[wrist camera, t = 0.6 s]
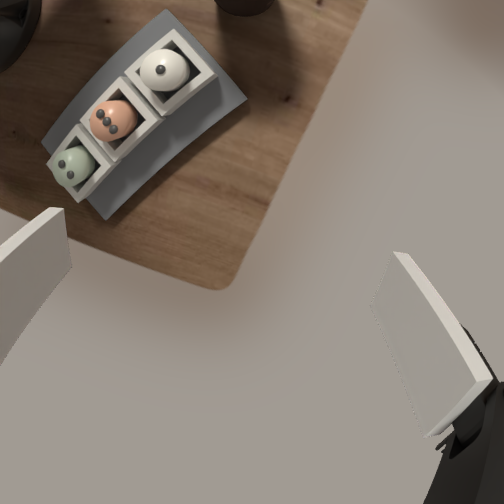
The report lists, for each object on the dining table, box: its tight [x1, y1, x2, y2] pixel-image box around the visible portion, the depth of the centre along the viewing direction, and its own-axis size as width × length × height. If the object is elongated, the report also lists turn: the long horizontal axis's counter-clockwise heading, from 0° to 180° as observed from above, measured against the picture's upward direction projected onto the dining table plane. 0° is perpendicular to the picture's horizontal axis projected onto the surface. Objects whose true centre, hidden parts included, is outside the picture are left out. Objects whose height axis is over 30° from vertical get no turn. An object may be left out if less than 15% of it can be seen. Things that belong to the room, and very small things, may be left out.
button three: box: [90, 100, 137, 142], centre depth 26 cm, size 4×4×3 cm
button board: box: [41, 8, 247, 221], centre depth 28 cm, size 14×22×4 cm, turn 127°
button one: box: [140, 49, 190, 91], centre depth 23 cm, size 4×4×3 cm
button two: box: [53, 145, 95, 187], centre depth 28 cm, size 4×4×3 cm
